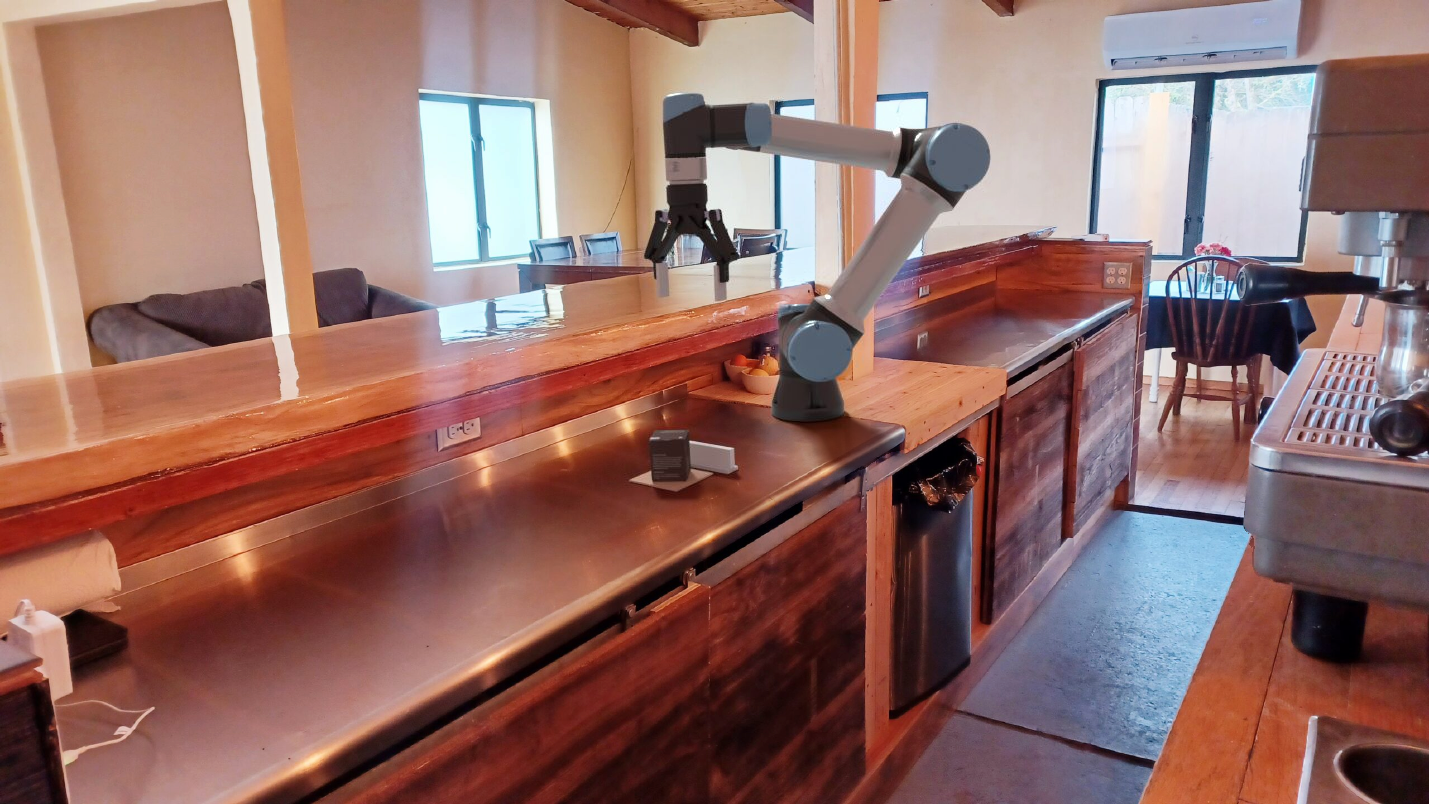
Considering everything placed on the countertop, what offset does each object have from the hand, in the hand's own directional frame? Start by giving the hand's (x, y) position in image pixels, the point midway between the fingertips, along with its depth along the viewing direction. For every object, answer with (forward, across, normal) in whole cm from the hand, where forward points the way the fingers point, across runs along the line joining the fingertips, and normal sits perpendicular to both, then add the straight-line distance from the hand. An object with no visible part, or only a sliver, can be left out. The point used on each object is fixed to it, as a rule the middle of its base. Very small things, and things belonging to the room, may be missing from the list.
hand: (691, 298), depth 177 cm
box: (+27, +12, -23) cm, 37 cm away
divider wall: (+27, +12, -15) cm, 33 cm away
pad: (+27, +12, -23) cm, 37 cm away
